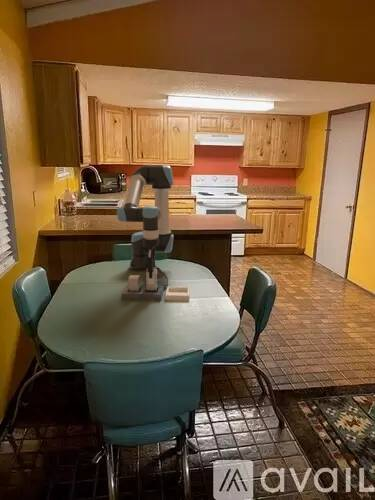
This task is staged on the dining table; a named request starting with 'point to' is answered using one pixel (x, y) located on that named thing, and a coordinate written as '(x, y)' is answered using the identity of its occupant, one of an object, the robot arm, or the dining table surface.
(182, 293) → the tray
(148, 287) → the tan rectangular block
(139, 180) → the robot arm
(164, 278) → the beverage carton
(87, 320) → the dining table surface
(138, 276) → the beige rectangular block
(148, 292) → the rack
